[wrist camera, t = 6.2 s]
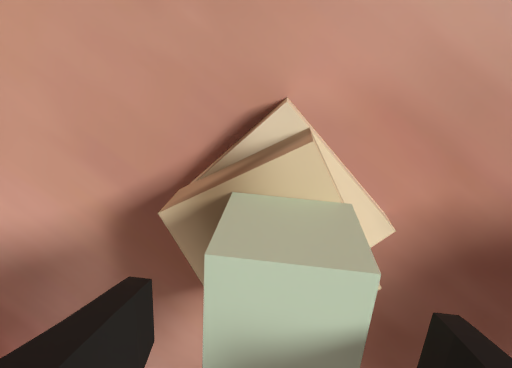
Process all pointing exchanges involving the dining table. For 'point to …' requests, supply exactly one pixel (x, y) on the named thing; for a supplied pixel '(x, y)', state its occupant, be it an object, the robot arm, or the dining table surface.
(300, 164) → the beech slab top
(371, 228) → the beech slab bottom
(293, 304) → the sage cube
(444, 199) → the dining table surface
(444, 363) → the robot arm
